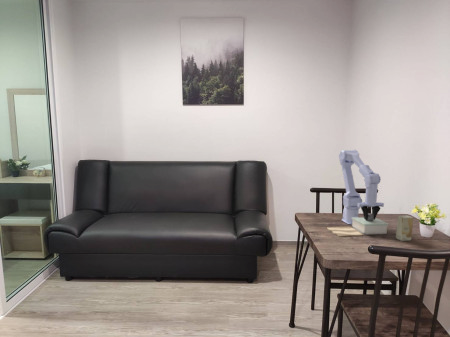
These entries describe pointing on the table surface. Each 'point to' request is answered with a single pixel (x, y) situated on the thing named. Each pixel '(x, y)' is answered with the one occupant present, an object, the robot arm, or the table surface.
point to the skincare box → (404, 228)
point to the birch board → (344, 231)
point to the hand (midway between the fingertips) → (369, 219)
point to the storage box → (369, 228)
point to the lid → (369, 220)
